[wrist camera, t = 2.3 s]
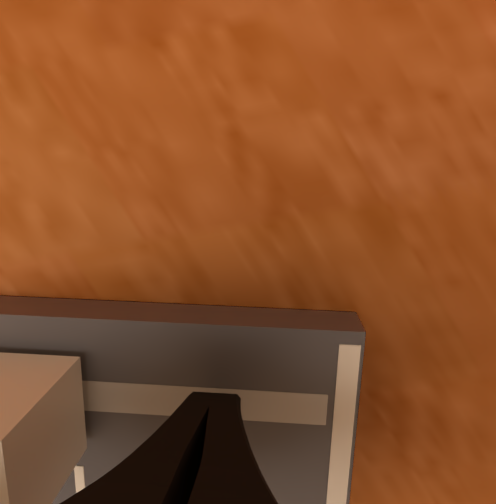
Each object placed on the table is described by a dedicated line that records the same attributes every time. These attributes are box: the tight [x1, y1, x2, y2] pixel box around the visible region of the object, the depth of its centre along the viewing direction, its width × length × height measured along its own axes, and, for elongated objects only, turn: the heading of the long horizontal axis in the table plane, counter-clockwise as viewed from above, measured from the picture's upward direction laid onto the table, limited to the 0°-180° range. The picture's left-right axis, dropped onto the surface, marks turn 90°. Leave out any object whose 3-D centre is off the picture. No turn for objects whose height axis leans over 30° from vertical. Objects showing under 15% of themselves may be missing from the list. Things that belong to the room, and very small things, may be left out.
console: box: [0, 296, 366, 504], centre depth 14 cm, size 17×12×2 cm
